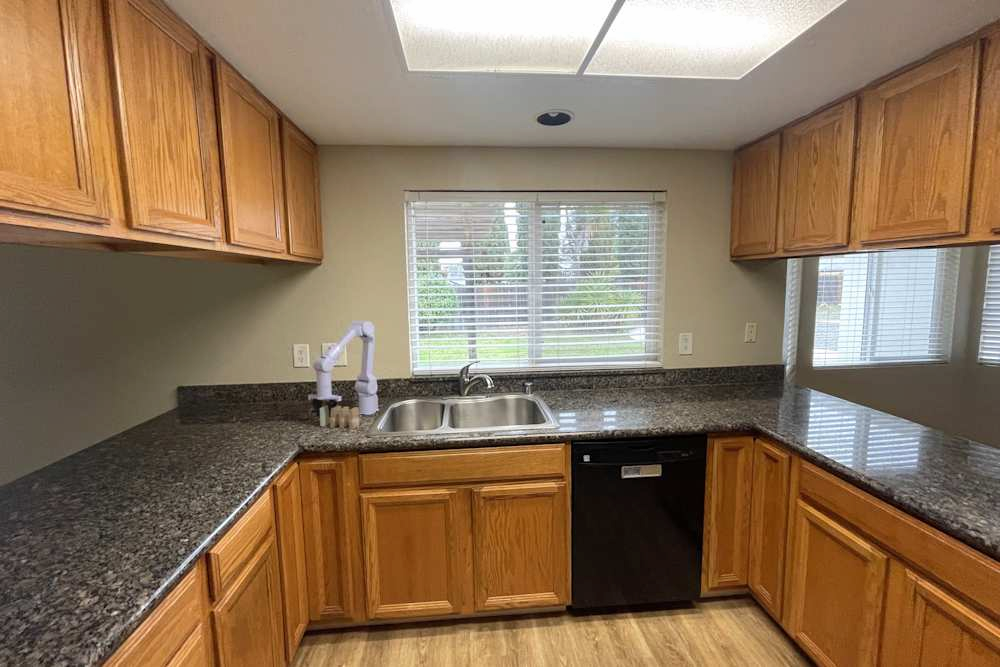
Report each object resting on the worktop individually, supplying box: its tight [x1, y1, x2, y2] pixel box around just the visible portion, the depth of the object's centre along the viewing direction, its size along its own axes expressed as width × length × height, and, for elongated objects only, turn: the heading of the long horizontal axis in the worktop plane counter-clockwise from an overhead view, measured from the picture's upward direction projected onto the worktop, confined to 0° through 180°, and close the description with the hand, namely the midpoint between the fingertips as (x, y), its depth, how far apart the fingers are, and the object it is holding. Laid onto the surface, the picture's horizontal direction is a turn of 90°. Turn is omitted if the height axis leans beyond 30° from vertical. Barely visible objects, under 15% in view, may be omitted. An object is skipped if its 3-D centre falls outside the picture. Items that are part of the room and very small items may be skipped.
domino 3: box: [339, 406, 350, 429], centre depth 178 cm, size 2×5×8 cm, turn 169°
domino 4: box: [348, 406, 360, 430], centre depth 177 cm, size 2×5×8 cm, turn 169°
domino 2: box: [329, 405, 342, 428], centre depth 179 cm, size 2×5×8 cm, turn 169°
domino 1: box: [319, 405, 331, 428], centre depth 180 cm, size 2×5×8 cm, turn 169°
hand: (325, 416), depth 180 cm, fingers open, 5 cm apart
